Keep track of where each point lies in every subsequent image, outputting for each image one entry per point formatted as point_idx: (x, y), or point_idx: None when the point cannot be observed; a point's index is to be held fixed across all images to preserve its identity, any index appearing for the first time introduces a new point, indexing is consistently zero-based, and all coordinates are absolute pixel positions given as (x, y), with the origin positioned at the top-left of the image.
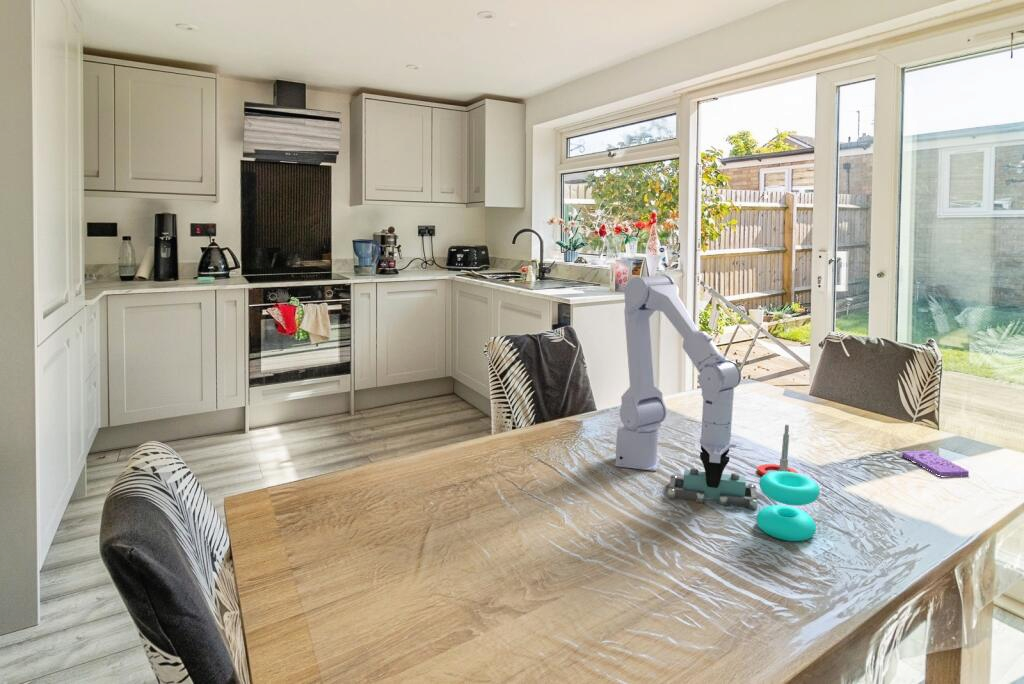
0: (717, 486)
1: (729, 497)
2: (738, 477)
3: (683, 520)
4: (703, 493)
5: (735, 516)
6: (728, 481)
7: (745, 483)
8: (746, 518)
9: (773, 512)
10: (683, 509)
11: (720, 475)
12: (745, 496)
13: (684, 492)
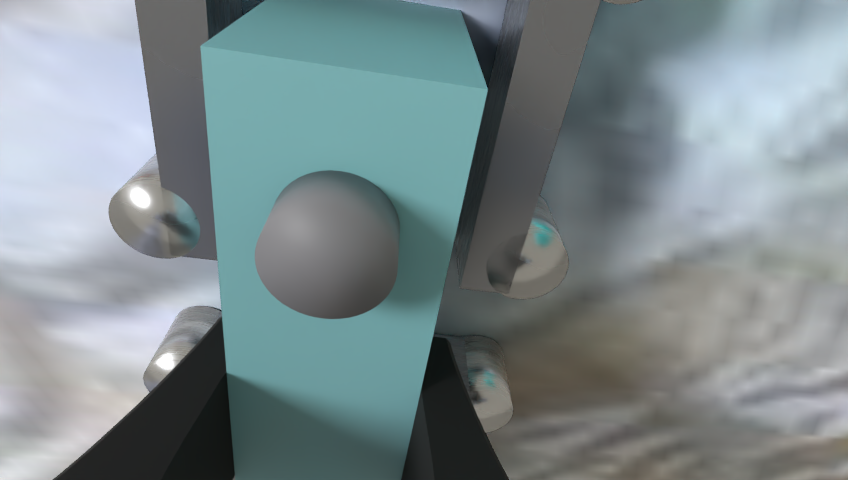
0: (453, 355)
1: (532, 211)
2: (380, 212)
3: (747, 448)
4: (486, 398)
5: (754, 154)
6: (437, 306)
7: (486, 88)
8: (816, 59)
9: None
10: (601, 439)
11: (505, 478)
12: (521, 35)
13: None
